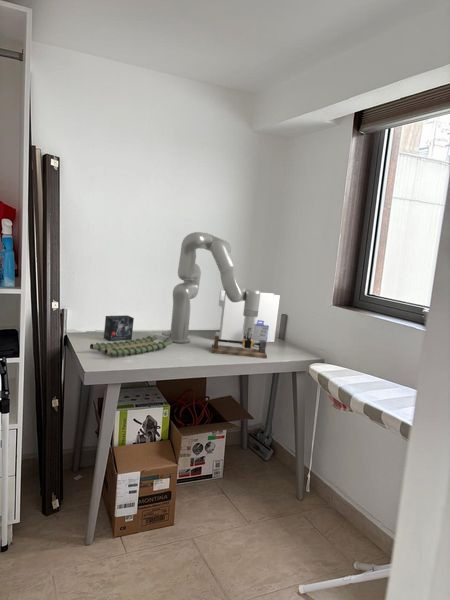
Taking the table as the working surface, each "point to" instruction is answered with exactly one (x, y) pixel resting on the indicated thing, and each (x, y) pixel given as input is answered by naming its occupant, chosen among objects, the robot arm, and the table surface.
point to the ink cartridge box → (260, 332)
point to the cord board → (239, 348)
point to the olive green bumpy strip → (131, 346)
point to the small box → (118, 328)
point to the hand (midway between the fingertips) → (246, 345)
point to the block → (235, 319)
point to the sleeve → (244, 342)
